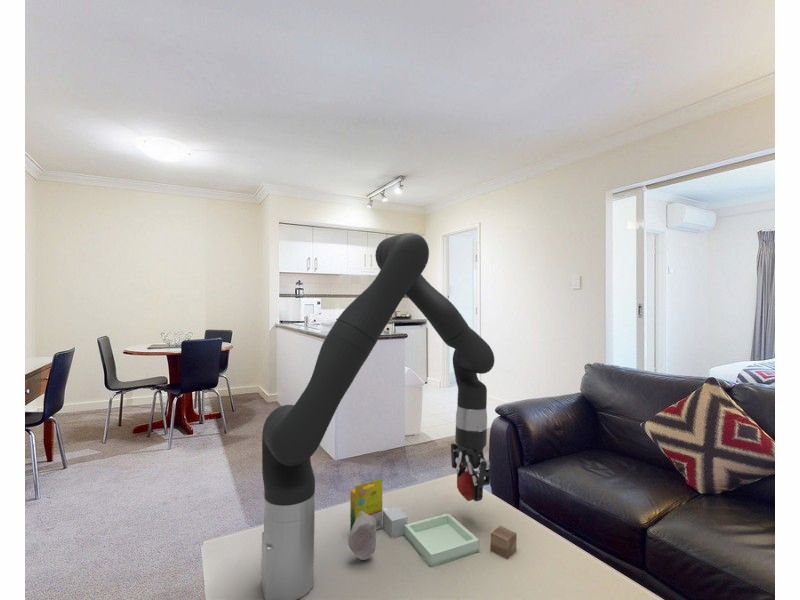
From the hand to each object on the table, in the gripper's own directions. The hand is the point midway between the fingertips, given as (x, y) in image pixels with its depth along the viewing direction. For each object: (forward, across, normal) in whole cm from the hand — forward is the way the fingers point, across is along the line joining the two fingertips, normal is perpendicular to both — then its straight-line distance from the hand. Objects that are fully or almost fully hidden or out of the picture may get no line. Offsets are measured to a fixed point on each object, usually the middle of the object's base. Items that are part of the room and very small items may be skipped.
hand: (469, 493), depth 97 cm
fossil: (+8, +2, -28) cm, 30 cm away
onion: (+2, 0, 0) cm, 2 cm away
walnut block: (+7, +12, +1) cm, 14 cm away
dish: (+7, +4, -10) cm, 13 cm away
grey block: (+8, -5, -17) cm, 20 cm away
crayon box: (+8, -8, -23) cm, 26 cm away
